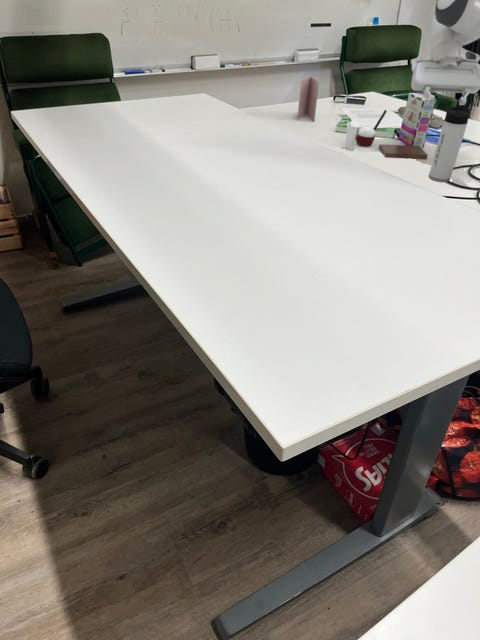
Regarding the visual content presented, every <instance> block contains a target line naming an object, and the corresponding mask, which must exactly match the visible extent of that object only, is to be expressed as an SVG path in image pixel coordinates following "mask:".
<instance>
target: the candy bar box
mask: <svg viewBox="0 0 480 640" xmlns="http://www.w3.org/2000/svg"><path fill="white" fill-rule="evenodd" d="M436 102H437V100H436V99H434V102H433V103H432V104H427V98H426V97H425V96H424V94H423V93H422V92H409V93H408V96H407V100H406V104H405V109H404V112H403V117H402V121H401V127H400V130H399V135H398V139H397V140H398V141H399V142H401V143H402V144H403V145H409V146H420V147H421V148H422V149H423V150H424V147H425V144H426V140H427V136H428V133H429V129H430V125H431V121H432V117H433V114H434V110H435V107H436Z"/></svg>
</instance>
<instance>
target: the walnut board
mask: <svg viewBox="0 0 480 640" xmlns="http://www.w3.org/2000/svg"><path fill="white" fill-rule="evenodd" d="M378 149H379V152H381V154H382V155H383V157H384V158H385V159H386V158H387V159H407V160H408V159H411V160H427V159H428V155H429V154H428V153H426V152H425V150H424V148H423V149H422V148H421V147H420V146H409V145H405V144H384V143H383V144H379V145H378Z"/></svg>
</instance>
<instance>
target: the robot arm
mask: <svg viewBox="0 0 480 640" xmlns="http://www.w3.org/2000/svg"><path fill="white" fill-rule="evenodd" d="M429 39H430V47H431V49H430V59H422V58H421V59H419V58H418V59H416V60H414V61H413V62H412V63H411V72H412V76H411V81H410V82H411V83H410V88H411V90H413V91H416V92H422V94H424V96H425V97H426V98H427V104H432V103H433V102H434V100H435V95H434V94H431V92H433V93H434V92H436V93H455V94H457V93H458V94H461V97H460V98H459V99H458V106H465V105H466V104H467V97H468V96H469V94H476V93H478V92H479V90H480V63H479V62H480V54H478V53H475V52H473V51H470V50H467V49H466V48H464V46H468V45H470V44H472V43H474V42H477V41H478V40H479V39H480V0H436V2H435V9H434V16H433V18H432V22H431V26H430V38H429Z"/></svg>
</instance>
